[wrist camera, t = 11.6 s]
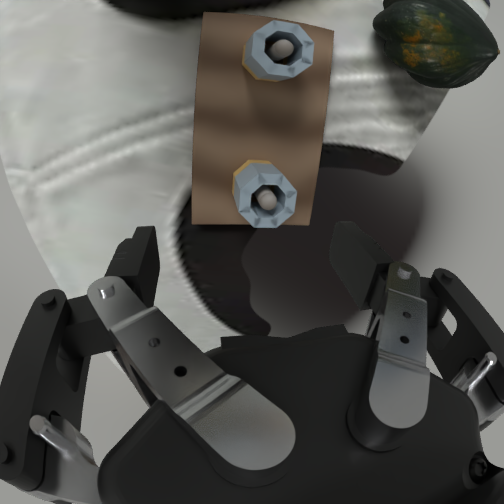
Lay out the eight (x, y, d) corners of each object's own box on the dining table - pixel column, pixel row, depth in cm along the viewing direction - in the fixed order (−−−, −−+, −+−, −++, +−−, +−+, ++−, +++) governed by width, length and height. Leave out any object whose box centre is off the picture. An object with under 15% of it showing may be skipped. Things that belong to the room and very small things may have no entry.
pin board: (203, 17, 21) (204, -12, 14) (326, 34, 24) (365, 18, 16) (192, 217, 33) (190, 254, 26) (303, 218, 36) (330, 253, 28)
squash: (353, -32, 15) (472, 34, 11) (431, -30, 14) (524, 33, 10) (352, 54, 29) (431, 129, 24) (419, 38, 28) (489, 101, 23)
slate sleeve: (234, 159, 28) (241, 172, 23) (282, 161, 29) (299, 175, 24) (231, 204, 31) (237, 227, 26) (276, 205, 32) (291, 228, 27)
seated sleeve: (244, 33, 22) (255, 17, 16) (294, 40, 23) (315, 28, 17) (240, 78, 24) (249, 72, 19) (290, 83, 25) (310, 80, 20)
